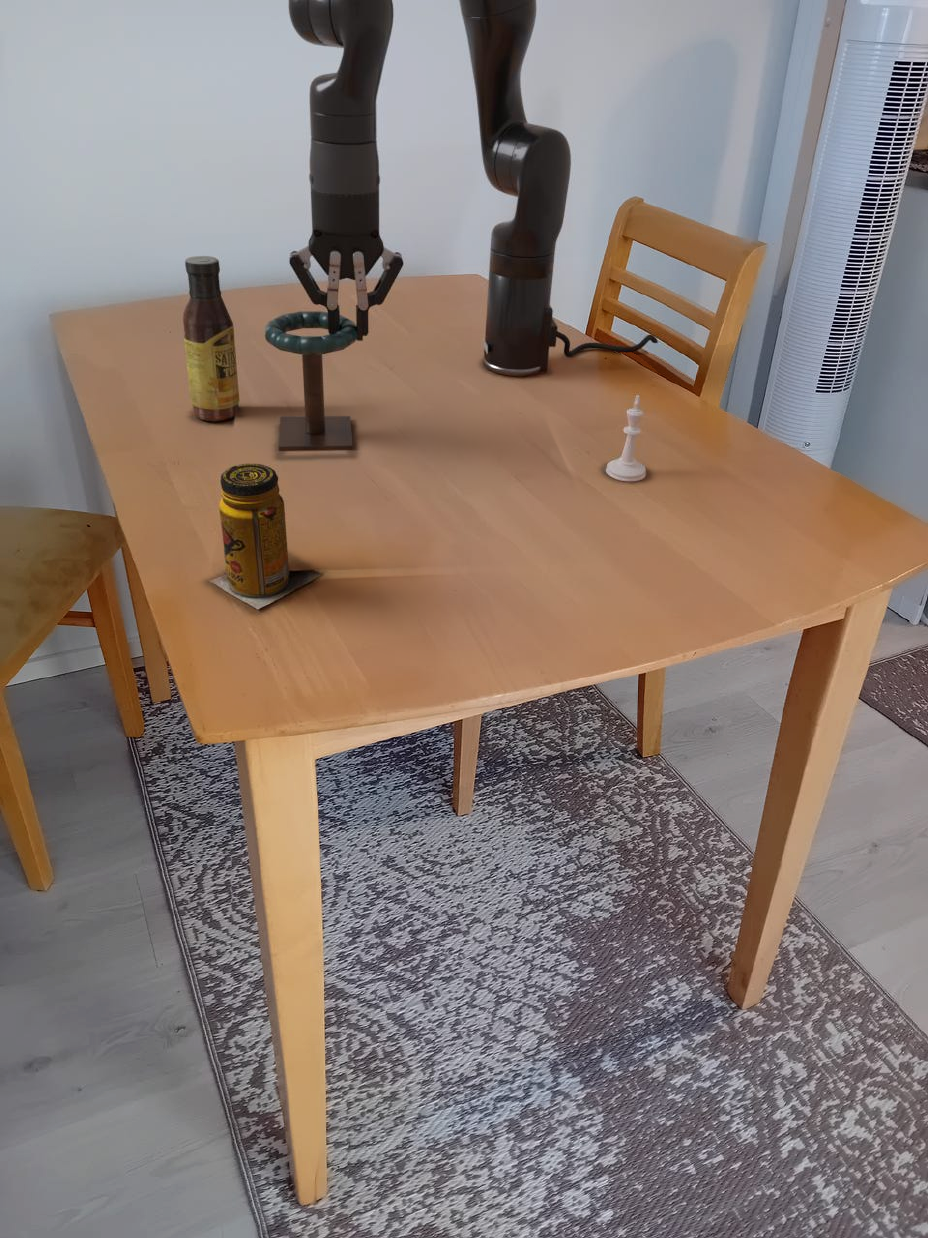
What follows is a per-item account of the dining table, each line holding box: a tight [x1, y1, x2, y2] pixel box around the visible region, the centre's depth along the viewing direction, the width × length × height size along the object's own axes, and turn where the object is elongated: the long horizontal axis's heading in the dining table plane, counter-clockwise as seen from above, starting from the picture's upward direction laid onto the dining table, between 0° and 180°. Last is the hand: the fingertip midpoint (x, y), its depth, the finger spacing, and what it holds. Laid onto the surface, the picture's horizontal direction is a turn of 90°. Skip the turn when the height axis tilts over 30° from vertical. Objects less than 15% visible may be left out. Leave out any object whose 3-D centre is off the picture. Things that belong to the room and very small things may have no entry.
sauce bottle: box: [182, 255, 240, 422], centre depth 124 cm, size 7×6×20 cm
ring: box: [264, 310, 357, 355], centre depth 116 cm, size 11×11×2 cm
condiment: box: [209, 463, 323, 610], centre depth 94 cm, size 7×8×12 cm
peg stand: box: [278, 354, 354, 452], centre depth 121 cm, size 9×9×12 cm
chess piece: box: [605, 394, 647, 482], centre depth 118 cm, size 5×5×10 cm
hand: (348, 337), depth 117 cm, fingers closed on ring, 2 cm apart
